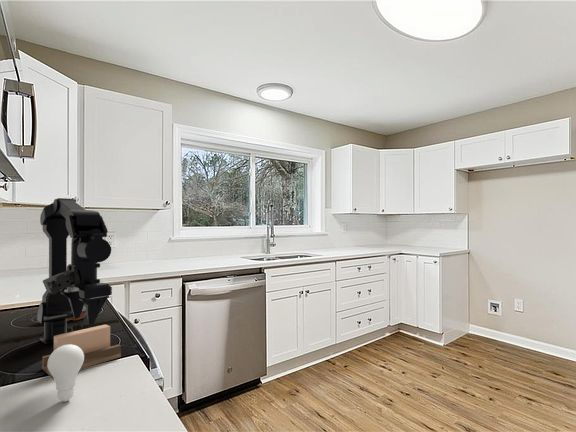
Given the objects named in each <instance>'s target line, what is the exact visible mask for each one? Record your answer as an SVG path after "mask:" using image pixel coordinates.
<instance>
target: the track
mask: <svg viewBox="0 0 576 432" xmlns="http://www.w3.org/2000/svg"><path fill="white" fill-rule="evenodd" d="M111 343H112V342H111V339H110V347H108V348H104V349H100V350H97V351H93V352H89V353H86V354H84V361H83V364H82V366H81V368H80V370H83V369H85V368H90V367H92V365H93V366H96V365H99V364H102V363H105V362H108V361H112V360H116V359H119V358H121V357H122V345H121V344H116V345H111ZM51 354H52V353H51ZM51 354H47V355H43V356H42V358H41V362H42V363H41V364H42V365H41V370H43V371H44V372H45V373H46V374H47V375H48V376H50V377H51V378H53V379H54V377H53V376H52V375H51V373H50V372H49V370H48V367H47V363H48V359H49V357H50V355H51Z"/></svg>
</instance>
